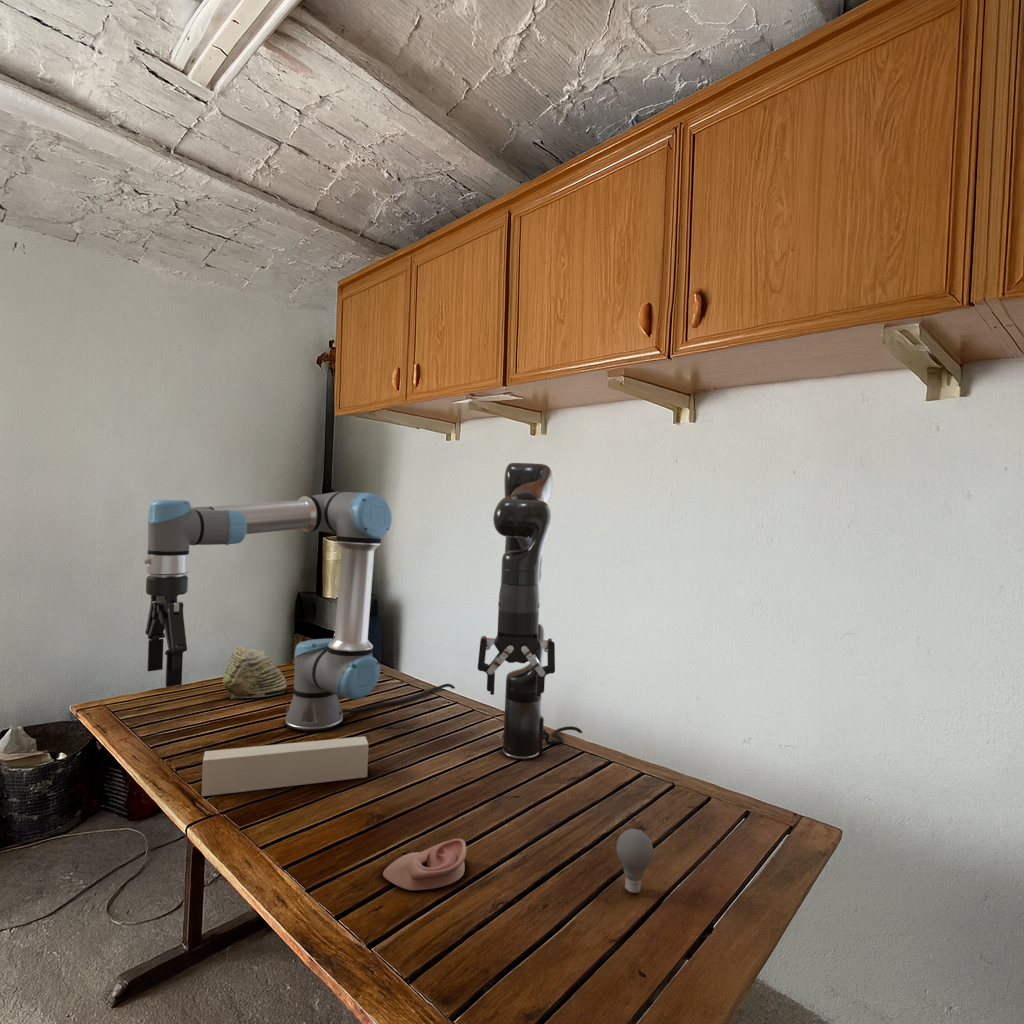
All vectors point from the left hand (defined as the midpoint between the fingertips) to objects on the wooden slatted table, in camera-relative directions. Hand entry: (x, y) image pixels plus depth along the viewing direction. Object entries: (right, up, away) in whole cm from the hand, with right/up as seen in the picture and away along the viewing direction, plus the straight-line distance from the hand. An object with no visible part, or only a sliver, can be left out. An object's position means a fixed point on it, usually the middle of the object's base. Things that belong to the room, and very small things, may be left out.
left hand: (163, 677), depth 130 cm
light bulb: (+92, -29, -25) cm, 99 cm away
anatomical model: (+57, -28, -22) cm, 67 cm away
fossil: (-9, -23, +68) cm, 72 cm away
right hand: (+72, 0, -13) cm, 73 cm away
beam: (+22, -26, +10) cm, 35 cm away
